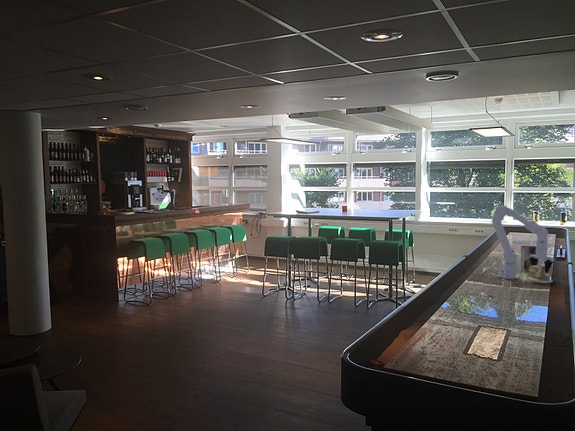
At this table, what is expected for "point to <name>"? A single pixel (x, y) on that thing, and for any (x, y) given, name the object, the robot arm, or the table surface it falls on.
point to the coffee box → (526, 256)
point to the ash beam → (539, 271)
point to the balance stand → (541, 279)
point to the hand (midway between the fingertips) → (540, 271)
